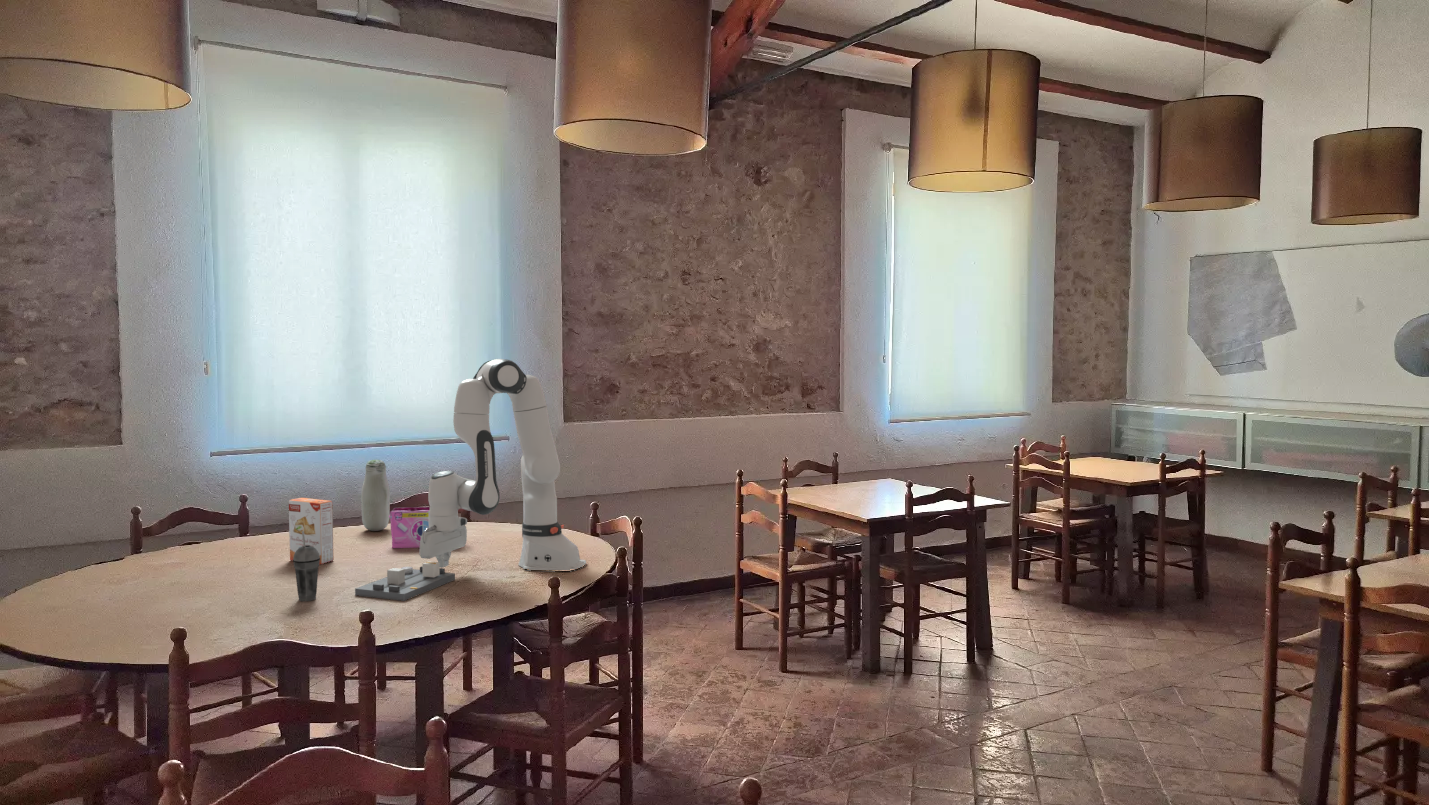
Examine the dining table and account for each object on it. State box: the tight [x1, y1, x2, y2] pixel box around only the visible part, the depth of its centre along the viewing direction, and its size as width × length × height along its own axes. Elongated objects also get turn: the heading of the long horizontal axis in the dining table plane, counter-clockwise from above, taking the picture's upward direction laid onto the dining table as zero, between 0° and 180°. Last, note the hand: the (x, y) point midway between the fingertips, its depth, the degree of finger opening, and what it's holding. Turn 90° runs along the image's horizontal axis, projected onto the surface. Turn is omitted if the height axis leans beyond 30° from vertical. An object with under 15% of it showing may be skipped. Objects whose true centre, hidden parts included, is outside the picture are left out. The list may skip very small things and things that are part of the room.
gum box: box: [389, 506, 430, 549], centre depth 332 cm, size 24×8×14 cm, turn 101°
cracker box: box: [288, 497, 335, 565], centre depth 306 cm, size 14×6×21 cm, turn 68°
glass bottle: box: [360, 459, 391, 532], centre depth 356 cm, size 10×10×28 cm
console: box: [354, 565, 456, 602], centre depth 275 cm, size 17×25×6 cm
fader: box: [421, 560, 440, 578], centre depth 279 cm, size 4×3×4 cm
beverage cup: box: [292, 531, 320, 602], centre depth 260 cm, size 7×7×20 cm
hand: (443, 566), depth 286 cm, fingers closed
